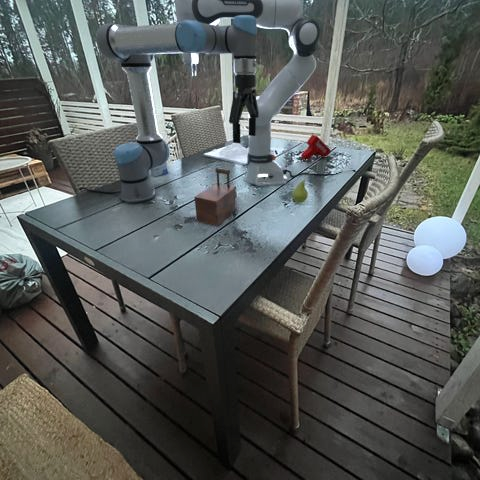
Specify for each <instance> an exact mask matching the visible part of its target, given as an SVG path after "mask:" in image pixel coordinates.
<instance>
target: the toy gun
mask: <svg viewBox="0 0 480 480" xmlns="http://www.w3.org/2000/svg"><path fill="white" fill-rule="evenodd" d="M306 144H307V145H308V147H307V148H306V149H305V150H303V152H302V153H301V154H300V155H301V160H304V159H305V160H304V161H307V162H309V161H310V159H311V158H312V157H313V156H316V157H318V156H319V155H321V156H319V157H320V158H324V159H327V158H326V157H322V156H326V155H328V156H329V155H330V153H331V152H332V150H331V149H330V148H329V147H328V146H327V145H326V144H325V143H324V142H323V141H322V140H321V138H319V136H317V135H314V134H311V136H310V137H309V138H308V139H307V142H306ZM306 159H309V160H306Z"/></svg>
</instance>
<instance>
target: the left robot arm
mask: <svg viewBox="0 0 480 480" xmlns="http://www.w3.org/2000/svg"><path fill="white" fill-rule="evenodd" d="M95 40H96V45H97V49H98V50H99V51H100V53H101V54H102V55H103V57H105V58H106V59H108V60H110V61H112V62H113V63H115V62H116V63H120V67H121V69H122V70H123V71H124V72H125V73H126V77H127V81H128V87H129V91H130V97H131V102H132V106H133V112H134V117H135V121H136V126H137V131H138V135H137V137H136V138H135V139H136V142H128V143H123V144H120V145H118V146H116V147H115V149H114V151H113V152H114V153H113V154H114V160H115V163H116V168H117V171H118V174H119V179H120V184H121V186H120V190H119V191H107V190H106V191H105V190H97V189H91V188H87V187H85V186H81V187H80V188H79V189H78V191H81V190H86V191H89V192H94V193H101V194H120V200H121V201H122V202H124V203H126V204H140V203H145V202H148V201H150V200H152V199H154V198H155V196H156V191H155V186H152V184H151V182H150V180H149V178H148V172H147V171H150V169H152V168H155V167H157V166H160V165H162V164H164V163H165V162H166V163H167V162H168V160H169V158H170V153H171V151H170V147H169V145H168V144H167V142H166V141H165V140H164V139H163V136H162V135H161V134H160V133H159V130H158V123H157V116H156V111H155V104H154V98H153V92H152V85H151V81H150V80H151V79H150V74H149V73H150V71H151V69H152V63H151V62H152V61H153V60H154V57H155V55H162V54H163V55H164V54H165V55H167V54H182V53H199V54H206V55H224V54H233V73H234V74H235V75H234V76H233V87H234V88H237V91H233V92H232V101H231V107H230V112H229V118H228V123H229V124H232V144H233V143H240V144H241V123H240V121H241V117H242V116H243V112H244V108H245V107H246V109H247V112H248V116H249V115H250V117H251V118H249V117H248V136H249V135H250V136H256V118H258V117H259V115H258V114H259V112H258V106H257V100H256V98H257V89H256V88H255V87H256V85H257V76H256V74H255V73H257V65H258V62H257V45H258V44H257V42H258V27H257V21H256V18H255V17H254V16H251V15H239V16H235V17H234V18H232V24H228V25H216V26H215V25H211V24H205V23H201V22H197V21H195V20H184V21H182V22H181V23H178V22H174V23H160V24H148V25H137V26H136V25H127V24H119V23H111V22H108V23H104V24H101V25H100V26H99V27H98V29H97V31H96V35H95Z"/></svg>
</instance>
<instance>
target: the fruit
mask: <svg viewBox="0 0 480 480" xmlns="http://www.w3.org/2000/svg"><path fill="white" fill-rule="evenodd" d="M310 177H311V175H308V176H307V177H305V179H302V180H301V181H300V182H298V184H297V185H296V186H295V187H294V188H293V190H292V191H291V198H292V200H293V201H294V202H295V203H297V204H301V203H304V202H305V201H306V200H307V198H308V196H309V195H308V190H307V189H306V184H305V183H306V180H308V179H309V178H310Z"/></svg>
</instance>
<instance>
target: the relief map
mask: <svg viewBox="0 0 480 480" xmlns="http://www.w3.org/2000/svg"><path fill="white" fill-rule="evenodd" d="M248 152H249V146H248V147H247V148H246V147H245V146H243V145H242V144H241V142H240V143H233V142H232V143H231V144H228V145H226V146H223V147H220V148H218V149H216V148H214V149H213V150H211V151H209V152H205V153H203V157H207V158H211V159H216V160H221V161H225V162H230V163H235V164H240V165H243V166H246V165H248V163H247V155H248Z"/></svg>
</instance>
